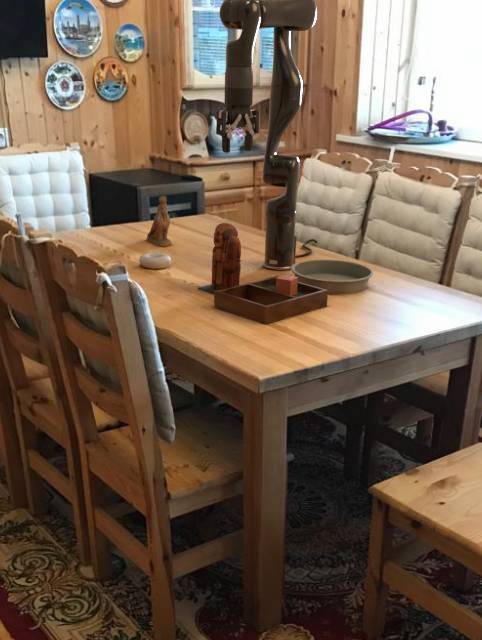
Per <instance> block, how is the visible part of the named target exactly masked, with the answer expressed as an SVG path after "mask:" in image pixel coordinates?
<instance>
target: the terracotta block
mask: <svg viewBox="0 0 482 640" xmlns="http://www.w3.org/2000/svg"><path fill="white" fill-rule="evenodd" d="M297 285H298V277H295V275H294V276H293V275H287V274H282V275H279V277H277V278H276V291H277V292H281V293H284V294H288V295H291V296H293V295H295V294H297Z"/></svg>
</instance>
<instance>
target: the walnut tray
mask: <svg viewBox="0 0 482 640" xmlns="http://www.w3.org/2000/svg"><path fill="white" fill-rule="evenodd" d="M277 277H280V275H274V276H271V277H267V278H263V279H259V280H254V281H250V282H246V283H242V284H239V285H237V286H233V287H229V288H225V289H221V290H217V291H214V294H213V308H215V309H218V310H221V311H224V312H227V313H229V314H233V315H235V316H238V317H241V318H244V319H248V320H252V321H254V322H256V323H257V322H258V323H261V324H263V325H267V324H268V325H269V324H271V323H275V322H279V321H281V320H285V319H288V318H292V317H294V316H299V315H301V314H305V313H308V312H312V311H315V310H318V309H322V308H325V307H328V298H329V294H328V290H326V289H323V288H319V287H315V286H312V285H308V284H305V283H301V282H298V285H297V294H295V295H293V296H291V295H288V294H284V293H281V292H277V291H276V278H277Z"/></svg>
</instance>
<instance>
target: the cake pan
mask: <svg viewBox="0 0 482 640" xmlns="http://www.w3.org/2000/svg"><path fill="white" fill-rule="evenodd" d="M290 270H291V272H292V273H293V274H294V277H298V282H301V283H305V284H308V285H312V286H315V287H319V288H323V289H326V290H328V295H329V294H330V295H346V294H347V295H348V294H354V293H355V294H356V293H359V292H362V291H364V290H365V289H366V288H367V287H368V284H369V281H370V279H371V278H372V277H373V276H374V270H373V269H371V268H370V267H368V266H367V265H365V264H364V265H363V264H361V263H357V262H353V261H348V260H341V259H340V260H339V259H308V260H302V261H299V262H295V264H294V265H293V266H292V267H291V269H290Z"/></svg>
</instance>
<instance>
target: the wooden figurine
mask: <svg viewBox="0 0 482 640" xmlns="http://www.w3.org/2000/svg"><path fill="white" fill-rule="evenodd" d="M238 236H239V232H238V230H237V227H236V226H235V225H234V224H232V223H229V222H222V223H219V224H217V225H216V226H215V228H214V232H213V245H214V246H213V248H212V253H211V254H212V256H211V257H212V258H211V284H212V287H213V288H216V289H217V290H221V289H225V288H229V287H233V286H237V285H240V283H241V282H240V280H241V269H242V264H241V262H242V260H241V257H242V243H241V241H240V237H238Z"/></svg>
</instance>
